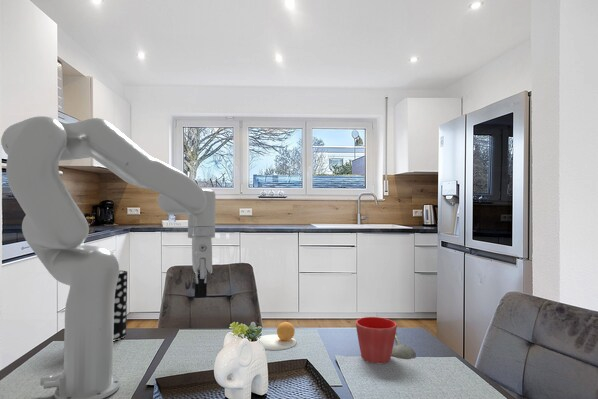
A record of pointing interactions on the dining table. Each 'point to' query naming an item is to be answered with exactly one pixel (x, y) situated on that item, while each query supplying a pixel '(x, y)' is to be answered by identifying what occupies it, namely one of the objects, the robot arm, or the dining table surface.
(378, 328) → the flower pot
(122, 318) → the white-spotted black cylinder
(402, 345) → the soupspoon
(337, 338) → the dining table surface
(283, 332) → the ball
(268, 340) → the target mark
